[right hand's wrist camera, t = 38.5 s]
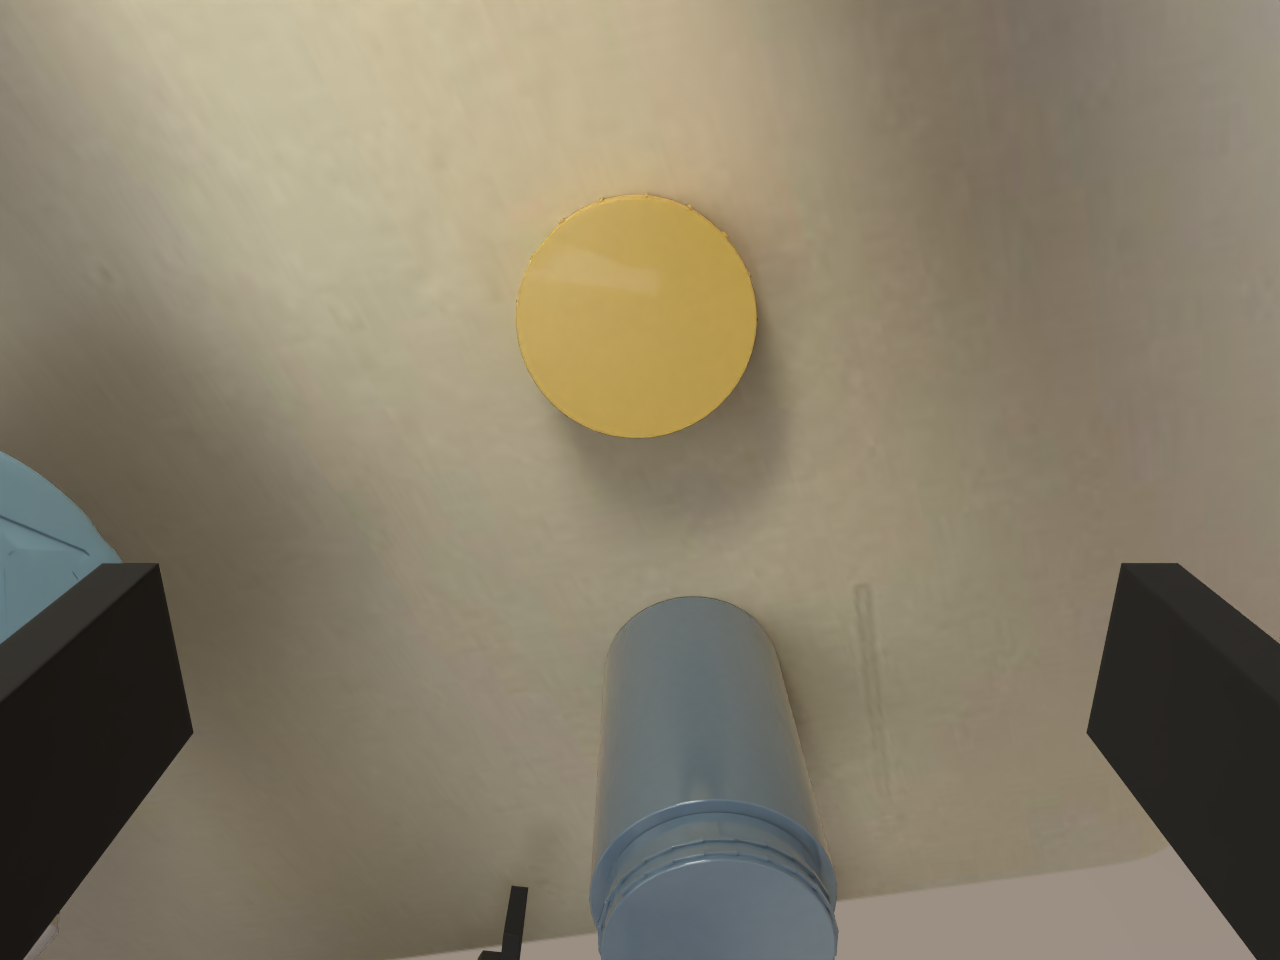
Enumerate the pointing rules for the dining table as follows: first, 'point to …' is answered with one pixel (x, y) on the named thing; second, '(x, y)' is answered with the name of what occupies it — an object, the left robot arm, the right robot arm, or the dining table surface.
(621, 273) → the lid
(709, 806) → the jar
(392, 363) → the dining table surface
